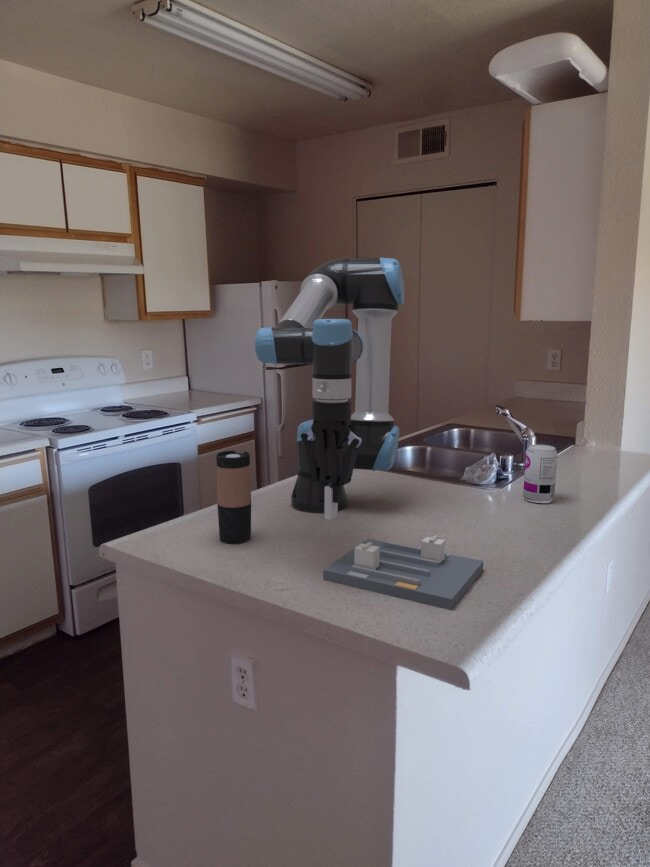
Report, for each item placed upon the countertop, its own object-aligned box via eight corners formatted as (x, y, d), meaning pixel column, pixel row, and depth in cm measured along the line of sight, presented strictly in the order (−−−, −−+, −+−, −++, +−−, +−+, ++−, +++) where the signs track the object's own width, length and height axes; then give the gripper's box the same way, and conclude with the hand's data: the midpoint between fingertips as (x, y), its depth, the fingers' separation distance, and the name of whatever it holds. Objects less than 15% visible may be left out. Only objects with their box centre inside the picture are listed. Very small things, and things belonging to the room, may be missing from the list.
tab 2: (420, 559, 131) (421, 538, 130) (426, 555, 133) (426, 533, 132) (439, 563, 129) (440, 541, 128) (444, 558, 131) (445, 537, 130)
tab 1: (354, 567, 127) (354, 545, 126) (361, 562, 129) (361, 540, 128) (372, 571, 125) (373, 548, 124) (379, 566, 127) (379, 544, 127)
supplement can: (521, 502, 176) (524, 449, 173) (524, 494, 184) (527, 443, 181) (553, 506, 173) (557, 451, 170) (554, 497, 181) (558, 445, 178)
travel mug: (224, 546, 144) (222, 459, 140) (214, 536, 151) (211, 452, 147) (256, 541, 147) (255, 455, 143) (245, 530, 154) (243, 449, 150)
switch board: (323, 579, 127) (323, 565, 126) (367, 547, 144) (367, 534, 143) (451, 609, 114) (452, 593, 114) (483, 570, 131) (483, 556, 131)
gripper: (292, 399, 124) (293, 517, 129) (353, 404, 118) (351, 527, 123) (312, 395, 131) (312, 507, 135) (370, 399, 125) (368, 517, 129)
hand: (330, 517), depth 129 cm, fingers closed
